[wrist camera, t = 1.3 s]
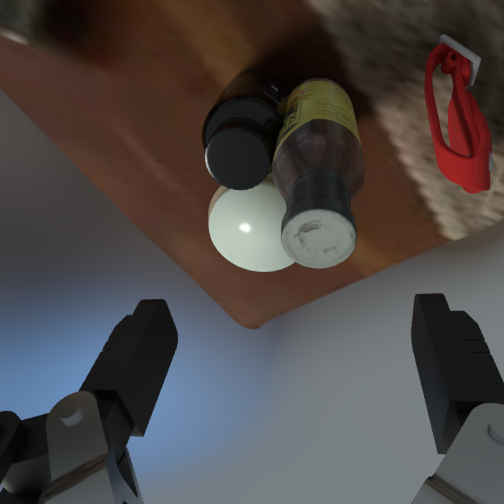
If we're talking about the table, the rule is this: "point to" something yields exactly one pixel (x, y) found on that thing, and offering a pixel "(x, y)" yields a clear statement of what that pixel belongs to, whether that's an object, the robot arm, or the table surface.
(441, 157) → the tracker holder
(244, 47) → the table surface
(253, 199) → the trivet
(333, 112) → the sauce bottle
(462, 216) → the table surface
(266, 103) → the supplement bottle
